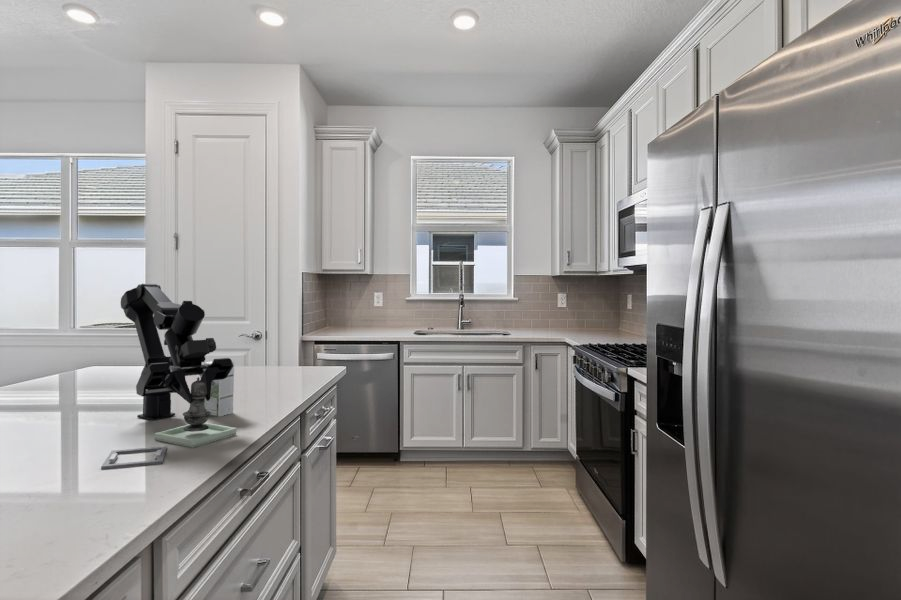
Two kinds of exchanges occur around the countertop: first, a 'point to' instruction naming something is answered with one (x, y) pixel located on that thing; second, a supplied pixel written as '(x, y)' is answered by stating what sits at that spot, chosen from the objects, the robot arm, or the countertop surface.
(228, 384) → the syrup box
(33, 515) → the countertop surface
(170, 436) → the tray
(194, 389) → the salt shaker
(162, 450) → the socket
